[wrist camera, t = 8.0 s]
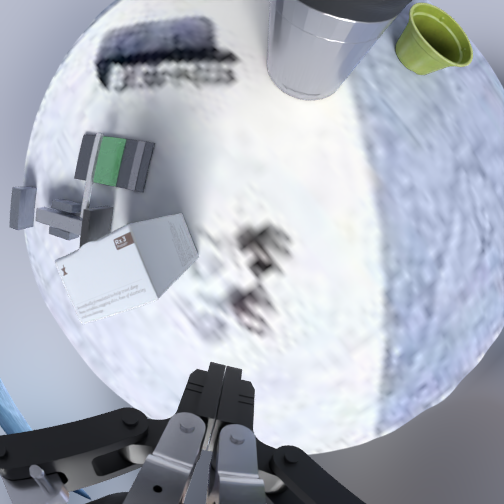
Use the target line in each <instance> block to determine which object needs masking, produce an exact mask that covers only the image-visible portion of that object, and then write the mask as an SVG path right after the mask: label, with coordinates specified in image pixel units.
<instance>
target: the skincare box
mask: <svg viewBox="0 0 504 504" xmlns="http://www.w3.org/2000/svg"><path fill="white" fill-rule="evenodd" d="M198 258H199V256H198V253H197V251H196V248H195V246H194V243H193V241H192V238H191V236H190V233H189V230H188V228H187V225H186V222H185V219H184V217H183V214H182V213H178V214H174V215H168V216H163V217H158V218H153V219H149V220H144V221H139V222H135V223H130V224H127V225H125V226H123V227H121V228H119V229H117V230H115V231H113V232H111V233H109V234H107V235H105V236H103V237H101V238H99V239H97V240H95V241H91V242H88V243H85V244H84V245H82V246H81V247H80V249H78V250H76V251H74V252H72V253H70V254H68V255H66V256H64V257H61V258H59V259H57V260H55V265H56V267H57V269H58V272H59V275H60V277H61V280H62V282H63V284H64V287H65V289H66V291H67V294H68V296H69V298H70V300H71V303H72V305H73V307H74V310H75V312H76V314H77V316H78V318H79V320H80V322H81V324H86V323H89V322H92V321H96V320H99V319H103V318H106V317H109V316H112V315H115V314H119V313H122V312H124V311H127V310H130V309H133V308H136V307H139V306H142V305H145V304H148V303H151V302H153V301H156V300H158V299H159V298H160V297H161V296H162V295H163V294H164V293H165V292H166V291H167V289H168V288H169V287H170V286H171V285H172V284H173V283H174V282H175V281H176V280H177V279H178V278H179V277H180V276H181V275H182V274H183V273H184V272H185V271H186V270H187V269H188V268H189V267H190V266H191V265H192V264H193V263H194V262H195V261H196V260H197V259H198Z"/></svg>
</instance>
